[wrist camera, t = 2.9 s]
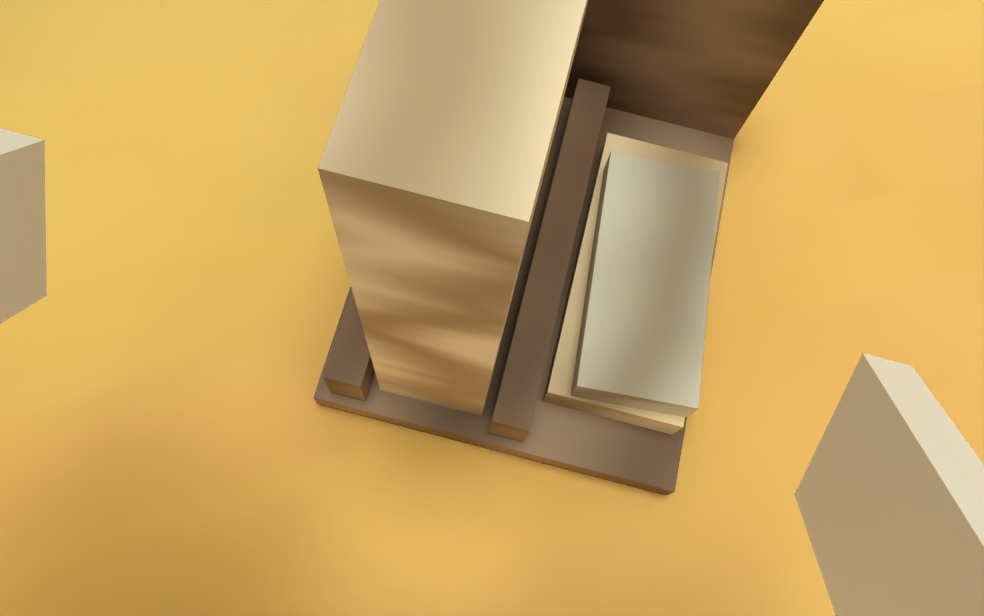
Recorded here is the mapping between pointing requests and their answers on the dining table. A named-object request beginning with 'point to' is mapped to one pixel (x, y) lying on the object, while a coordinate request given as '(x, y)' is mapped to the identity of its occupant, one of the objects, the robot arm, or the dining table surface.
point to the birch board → (445, 180)
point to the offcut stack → (640, 287)
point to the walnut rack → (561, 214)
